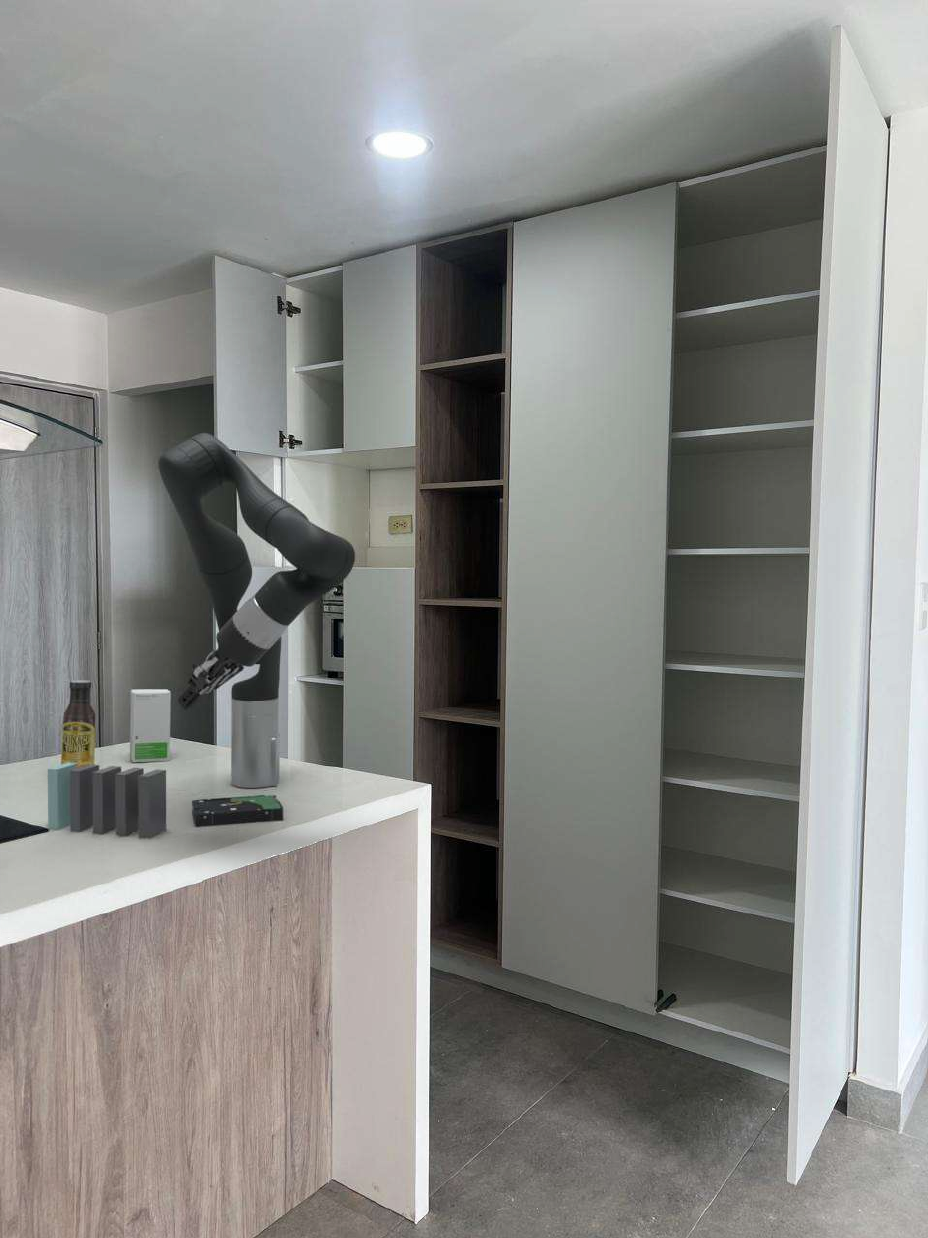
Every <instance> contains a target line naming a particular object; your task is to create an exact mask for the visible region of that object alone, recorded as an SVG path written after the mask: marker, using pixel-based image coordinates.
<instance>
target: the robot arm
mask: <svg viewBox="0 0 928 1238" xmlns="http://www.w3.org/2000/svg"><path fill="white" fill-rule="evenodd" d="M157 464H158V470H159V474H160V477H161V480H162V482H163V484H164V487H165V489H166V491H167V493H168V496H169V497H170V500H171V503H172V505H173V507H174V508H175V510H176V512H177V515H178V516H179V519H180V521H181V524H182V525H183V529H184V531H185V533H186V537H187V539H188V542H189V543H190V544H189V545H190V547H191V550H192V554H193V558H194V560H195V564H196V566H197V567H196V568H197V570H198V571H199V575H200V577H201V580H202V582H203V584H204V588H205V590H206V592H207V595H208V598H209V600H210V603H211V606H212V609H213V613H214V616H215V620H216V624H217V628H218V631H217V633H216V635H215V636H216V638H215V640H216V643H217V649H216V650H213V651H211V652H210V653H209V654H208V655H207V657H206V658H205V661H204V662H203V663H202V664H200V663H199V662H198V661H196V662H194V663H193V664H192V665H191V667H190V670H189V673H188V677H187V680H186V683H187V684H188V686H189V687H188V688H187V689H186V690H185V691H184V692H183V693H182V694H181V696H180V697H179V698H178V699H177V702H178V703H179V704H180V706H181V707H182V708H183V709H184V710H190V709H193V708H194V707H195V706H196V705H197V703H198V702H200V700H201V699H202V698H203V697H204V696H205V695H206V694H209V693H211V691H212V690H213V691H216V690H218V689H219V688H221V687H222V686H223V685H225V684H226V683H228V682H229V681H230V680H231V679H232V678H234V677H235V676H237V675H238V674H240V673H242V672H243V671H244V669H245V667H248V668H249V667H250V668H251V667H253V666H255V665H258V666H259V668H258V672H257V673H256V674H254V675H253V676H252V677H250V678H247V679H244V680H241V681H238V682H235V683H233V685H231V690H230V691H231V699H230V700H231V701H230V702H231V703H230V704H231V705H230V709H231V712H230V713H231V715H230V720H231V721H230V726H231V727H230V729H231V730H230V731H231V732H230V735H231V736H230V740H231V741H230V744H231V745H230V747H231V748H230V749H231V750H230V754H231V755H230V757H231V759H230V760H231V762H230V763H231V766H230V776H231V778H230V783H231V785H232V786H233V787H238V788H245V789H246V788H247V789H257V788H265V787H276V786H277V785H278V783H279V781H280V760H281V759H280V757H281V756H280V755H281V752H280V751H281V749H280V746H281V745H280V741H281V740H280V736H281V735H280V733H279V708H280V707H279V696H280V695H279V690H280V676H281V674H280V673H281V672H280V669H281V652H282V636H283V634H284V633H285V631H286V630H287V629H288V628H289V626H290V625H291V624H292V623H293V622H294V621H295V620H296V619H297V618H298V616H299V615H300V614H301V613H303V611H304V610H305V608H307V607H308V606H309V605H310V604H312V603H313V602H315V601H317V600H319V599H321V597H323V596H325V595H326V594H327V593H329V592H331V591H332V590H333V589H335V588H336V587H338V586H339V585H340V584H341V583H342V582H344V580H345V579H346V578H347V577H348V576H349V575H350V573H351V571H352V570H353V568H354V564H355V561H356V551H355V549H354V546H353V544H352V543H351V542H349V541H348V540H347V539H345V538H343V537H342V536H339V535H337V534H334V533H333V532H331V531H328V530H327V529H326V530H325V528H321V527H320V526H318V525H317V524H315V523H314V522H311V521H310V520H309V518H308V517H307V515H306V514H304V513H303V512H302V511H301V510H300V509H298V508H297V507H295V505H293V504H291V503H290V502H289V501H287V500H285V499H284V498H282V497H281V496H280V495H278V494H277V492H275V491H273V490H272V489H270V488H269V487H268V486H267V485H266V483H264V482H263V481H262V480H261V479H260V478H259V477H258V476H257V475H256V474H255V473H254V472H253V471H252V470H251V469H250V468H249V466H247V464H246V463H245V462H244V461H243V460H241V458H239V457H238V456H237V454H235V453H234V451H232V449H230V448H229V447H228V446H227V445H226V443H225V444H224V442H222V440H220V439H219V438H217V437H216V436H214V435H212V434H210V433H206V432H203V433H202V432H201V433H198V434H196V435H193V436H191V437H190V438H188V439H186V440H185V441H182V442H181V443H179V444H178V445H176V446H174V447H172V448H170V449H168V450H167V451H165V452H164V453H161V455H160V456H159V458H158V463H157ZM226 483H228V484H230V485H232V486H233V487H234V488H235V489H236V492H237V497H238V503H239V504H238V505H239V510H240V514H241V517H242V519H243V521H244V523H245V525H246V526H247V528H249V529H250V531H252V532H253V533H254V534H255V535H256V536H258V537H259V538H261V539H262V540H263V541H265V542H266V543H267V544H269V545H270V546H271V547H273V548H275V549H276V550H277V551H278V552H279V553H280V554H281V556H283V558H284V559H285V561H287V562H288V563H289V564H291V566H293V567H294V568H295V569H292V570H281V571H277V572H276V573H274V574H273V575H271V576H270V578H268V580H266V582H265V583H264V584H263V585H262V586H261V587H260V588H259V589H258V590H257V591H256V593H255V594H254V595H252V597H250V598H249V599H248V600H247V601H246V602H244V603H243V604H242V605H241V606H240V608H239V609H238V606H239V605H240V602H241V601H242V599H243V597H244V596H245V593H246V592H247V590H248V588H249V587H250V584H251V581H252V578H253V567H252V564H251V559H250V558H249V553H248V550H247V547H246V545H245V542H244V540H243V539H242V538H241V537H240V536H239V535H238V534H237V533H236V532H235V531H234V530H232V529H230V528H229V527H227V526H225V525H223V524H222V523H220V522H218V521H216V520H214V519H213V518H212V517H210V516H209V515H208V514H207V513H206V512H205V511H204V509H203V507H202V504H201V503H202V501H201V500H202V498H203V497H205V496H207V495H209V494H210V493H212V492H214V491H215V490H217V489H219V488H221V487H222V486H223V485H224V484H226Z"/></svg>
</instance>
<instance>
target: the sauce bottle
mask: <svg viewBox="0 0 928 1238" xmlns="http://www.w3.org/2000/svg"><path fill="white" fill-rule="evenodd" d="M68 688H69V693H70V694H69V703H68V704H67V707H66V709H65V710H64V712H63V718H62V728H61V749H60V750H61V755H60V765H62V764H65V763H77V768H80V767H83V766H86V765H89V764H93V765H95V746H96V744H95V743H96V712H95V711H94V709H93V707H92V705H91V688H92V680H84V679H76V680H70V681H69V687H68Z"/></svg>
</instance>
